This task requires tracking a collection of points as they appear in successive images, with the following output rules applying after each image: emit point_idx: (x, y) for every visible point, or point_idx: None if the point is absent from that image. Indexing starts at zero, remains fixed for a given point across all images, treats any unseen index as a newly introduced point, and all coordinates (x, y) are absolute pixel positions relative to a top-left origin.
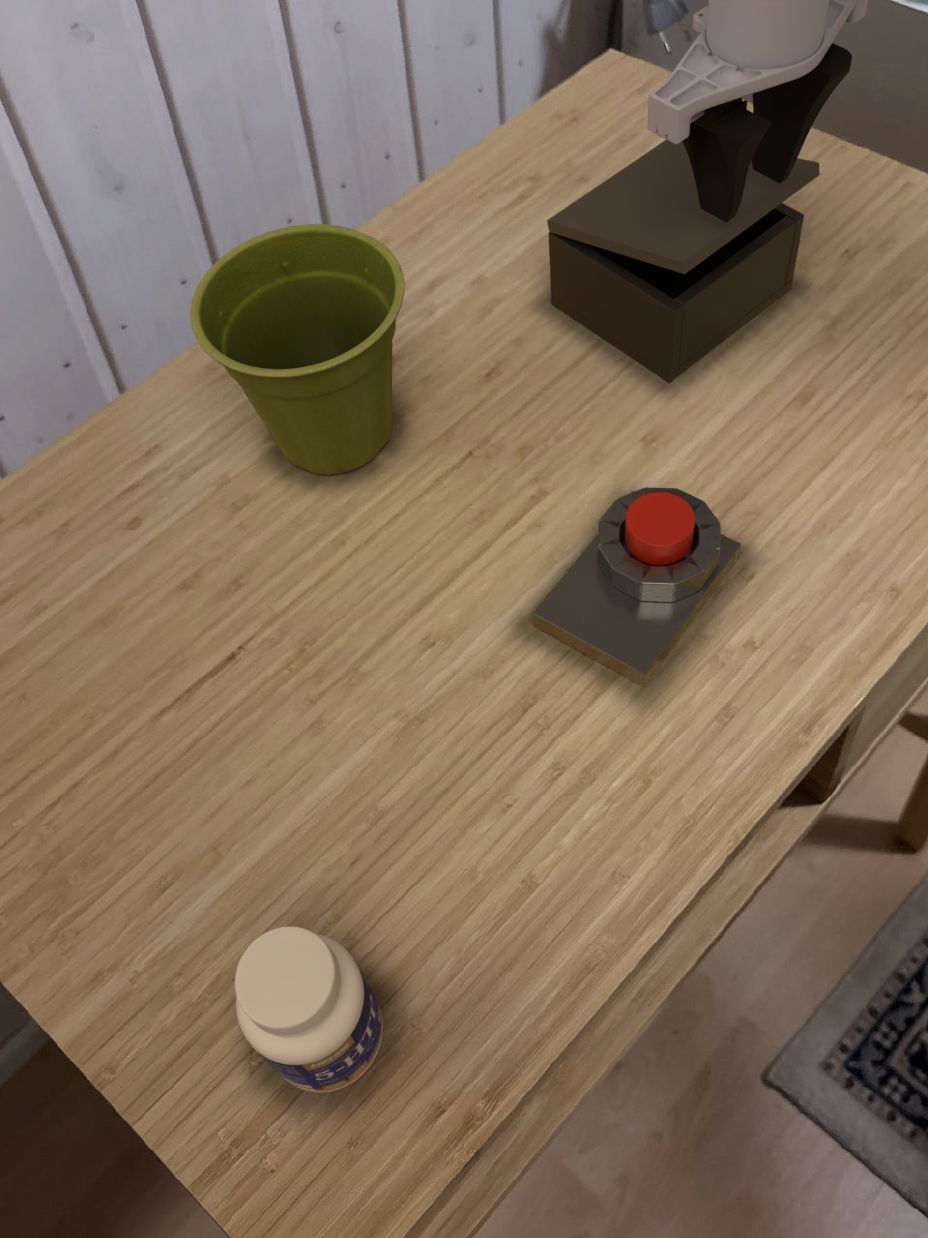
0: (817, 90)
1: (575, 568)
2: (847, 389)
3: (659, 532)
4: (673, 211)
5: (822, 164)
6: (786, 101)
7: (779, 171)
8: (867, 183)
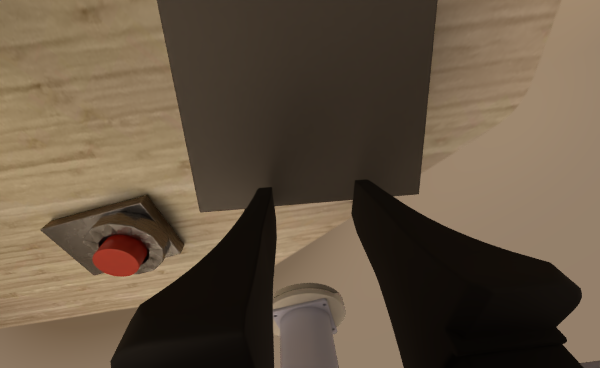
0: (405, 365)
1: (78, 222)
2: (311, 206)
3: (110, 269)
4: (268, 118)
5: (523, 31)
6: (397, 291)
7: (355, 220)
8: (507, 82)
